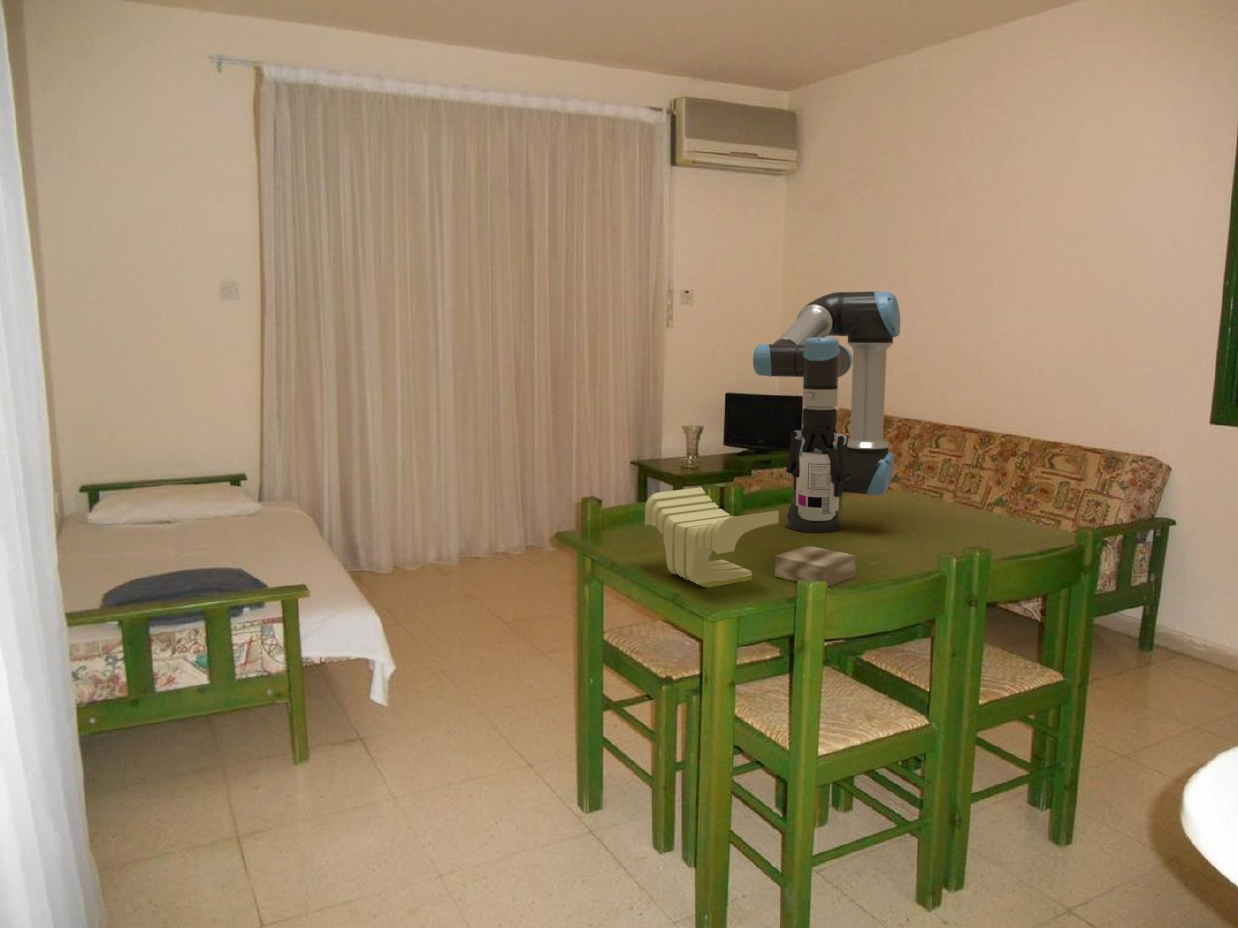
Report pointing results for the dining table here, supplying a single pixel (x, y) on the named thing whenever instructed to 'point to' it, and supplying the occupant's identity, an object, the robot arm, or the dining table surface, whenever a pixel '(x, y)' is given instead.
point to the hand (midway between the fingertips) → (816, 507)
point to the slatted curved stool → (700, 533)
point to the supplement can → (814, 486)
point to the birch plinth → (816, 565)
